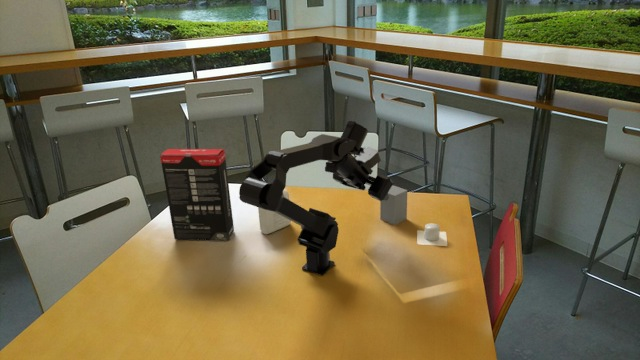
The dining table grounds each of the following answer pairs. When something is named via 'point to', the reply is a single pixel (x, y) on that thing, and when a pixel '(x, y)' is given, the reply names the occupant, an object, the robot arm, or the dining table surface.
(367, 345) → the dining table surface
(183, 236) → the graphics card box
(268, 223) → the photo printer
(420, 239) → the base
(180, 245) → the dining table surface
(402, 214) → the tall grey box
